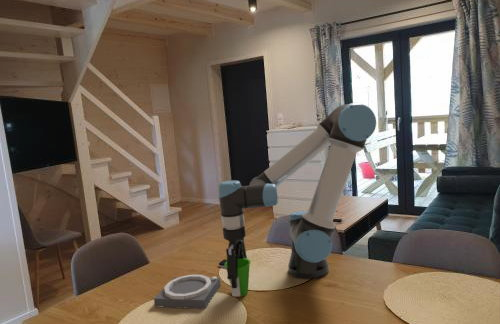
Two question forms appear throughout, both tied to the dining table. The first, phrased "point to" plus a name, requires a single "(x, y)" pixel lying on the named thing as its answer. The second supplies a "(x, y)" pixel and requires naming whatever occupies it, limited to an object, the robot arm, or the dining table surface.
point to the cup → (242, 275)
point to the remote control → (223, 263)
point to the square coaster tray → (188, 292)
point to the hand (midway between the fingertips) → (240, 288)
